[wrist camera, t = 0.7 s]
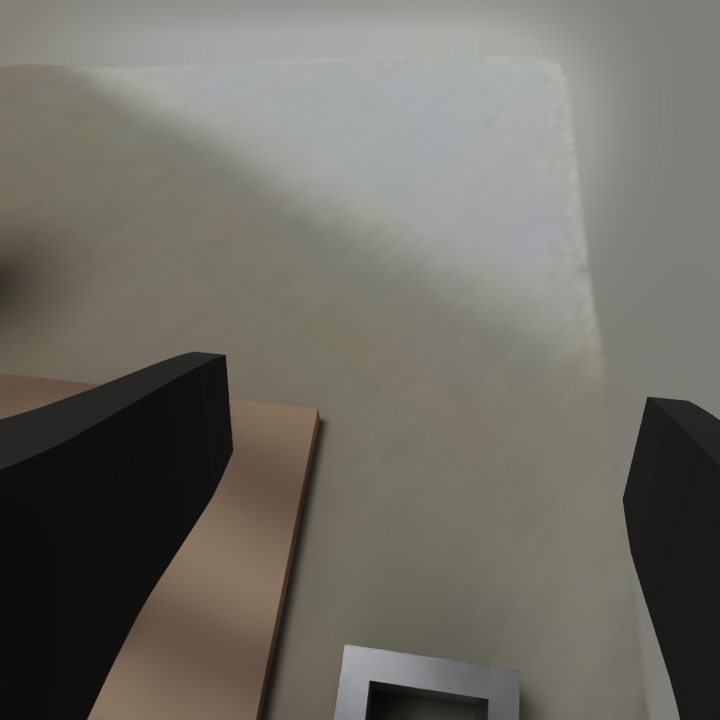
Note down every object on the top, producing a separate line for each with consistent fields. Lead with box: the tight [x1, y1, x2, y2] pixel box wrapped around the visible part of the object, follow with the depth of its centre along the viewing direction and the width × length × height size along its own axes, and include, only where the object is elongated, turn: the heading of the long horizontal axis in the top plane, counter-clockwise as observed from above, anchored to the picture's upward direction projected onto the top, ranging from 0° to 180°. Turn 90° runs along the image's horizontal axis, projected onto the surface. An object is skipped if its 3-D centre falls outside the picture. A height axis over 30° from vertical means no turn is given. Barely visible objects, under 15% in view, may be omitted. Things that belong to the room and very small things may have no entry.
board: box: [0, 374, 320, 720], centre depth 22 cm, size 18×15×6 cm
